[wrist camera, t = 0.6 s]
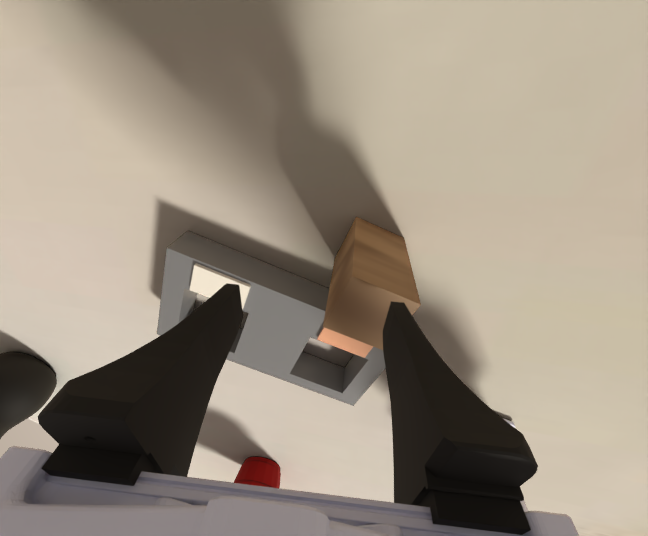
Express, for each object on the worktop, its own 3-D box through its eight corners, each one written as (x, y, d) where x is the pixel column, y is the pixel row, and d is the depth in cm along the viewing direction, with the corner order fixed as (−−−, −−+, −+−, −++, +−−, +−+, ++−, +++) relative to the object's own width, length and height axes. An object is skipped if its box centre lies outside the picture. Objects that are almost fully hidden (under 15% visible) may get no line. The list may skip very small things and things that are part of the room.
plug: (378, 277, 24) (383, 350, 17) (334, 258, 24) (322, 326, 17) (403, 237, 22) (420, 304, 15) (356, 216, 22) (352, 275, 15)
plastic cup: (284, 489, 49) (263, 594, 38) (223, 468, 47) (184, 572, 37) (308, 463, 43) (291, 580, 33) (239, 439, 42) (199, 552, 31)
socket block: (354, 380, 32) (353, 408, 29) (174, 312, 29) (154, 336, 27) (402, 318, 26) (406, 346, 23) (187, 230, 24) (164, 249, 21)
